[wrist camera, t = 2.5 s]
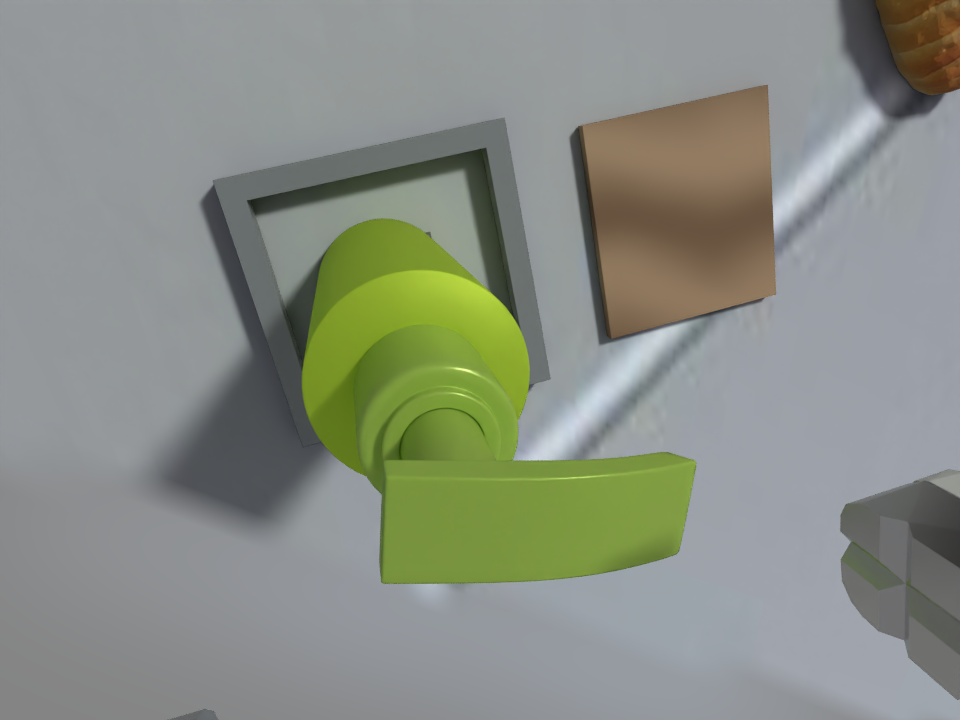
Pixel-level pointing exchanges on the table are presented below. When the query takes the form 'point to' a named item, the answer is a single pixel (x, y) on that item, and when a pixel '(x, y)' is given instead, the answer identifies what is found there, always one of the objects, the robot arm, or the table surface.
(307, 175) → the slate frame
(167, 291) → the table surface
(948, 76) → the pastry
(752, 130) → the walnut pad
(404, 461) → the soap dispenser
